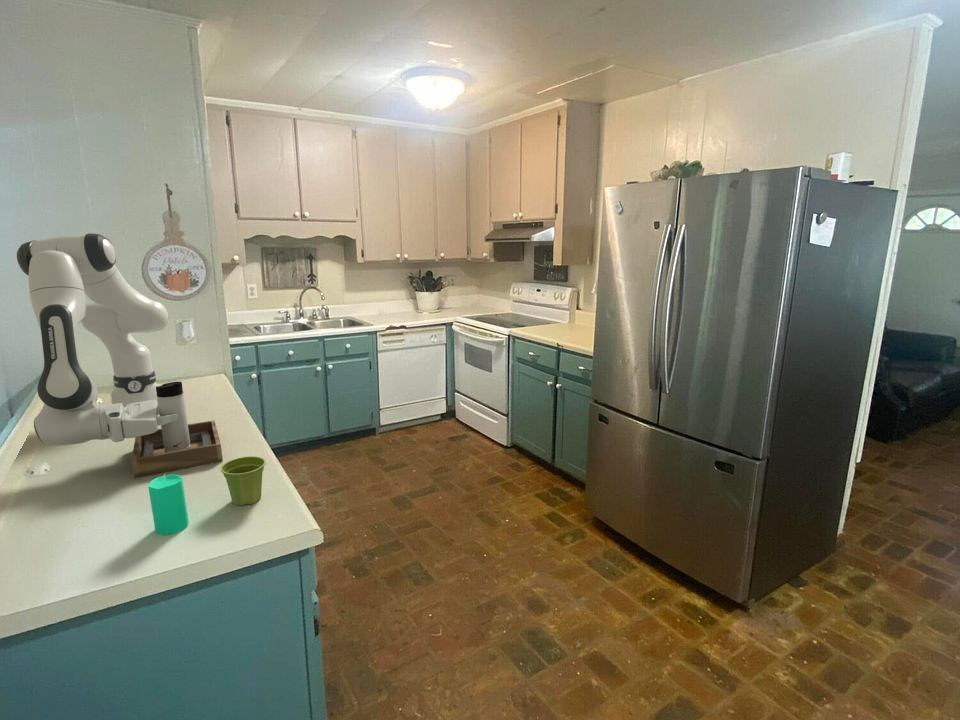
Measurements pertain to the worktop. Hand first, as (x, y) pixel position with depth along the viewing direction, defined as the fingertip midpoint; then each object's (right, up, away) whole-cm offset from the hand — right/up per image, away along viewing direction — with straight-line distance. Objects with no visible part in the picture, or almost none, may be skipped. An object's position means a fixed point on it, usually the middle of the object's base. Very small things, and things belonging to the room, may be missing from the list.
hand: (177, 411), depth 142 cm
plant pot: (+29, -18, -22) cm, 41 cm away
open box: (-1, -12, +2) cm, 13 cm away
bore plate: (-1, -12, +2) cm, 13 cm away
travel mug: (-1, -12, +2) cm, 12 cm away
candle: (+19, -21, -34) cm, 44 cm away
